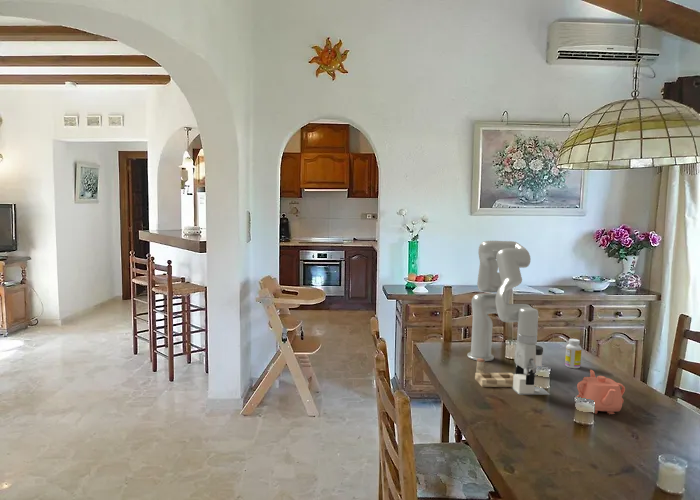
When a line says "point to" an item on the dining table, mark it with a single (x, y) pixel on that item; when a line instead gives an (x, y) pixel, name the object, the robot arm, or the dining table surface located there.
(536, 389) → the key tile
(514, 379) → the white cube
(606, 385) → the teapot
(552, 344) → the dining table surface
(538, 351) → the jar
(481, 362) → the peg
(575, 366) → the supplement bottle
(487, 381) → the peg board
